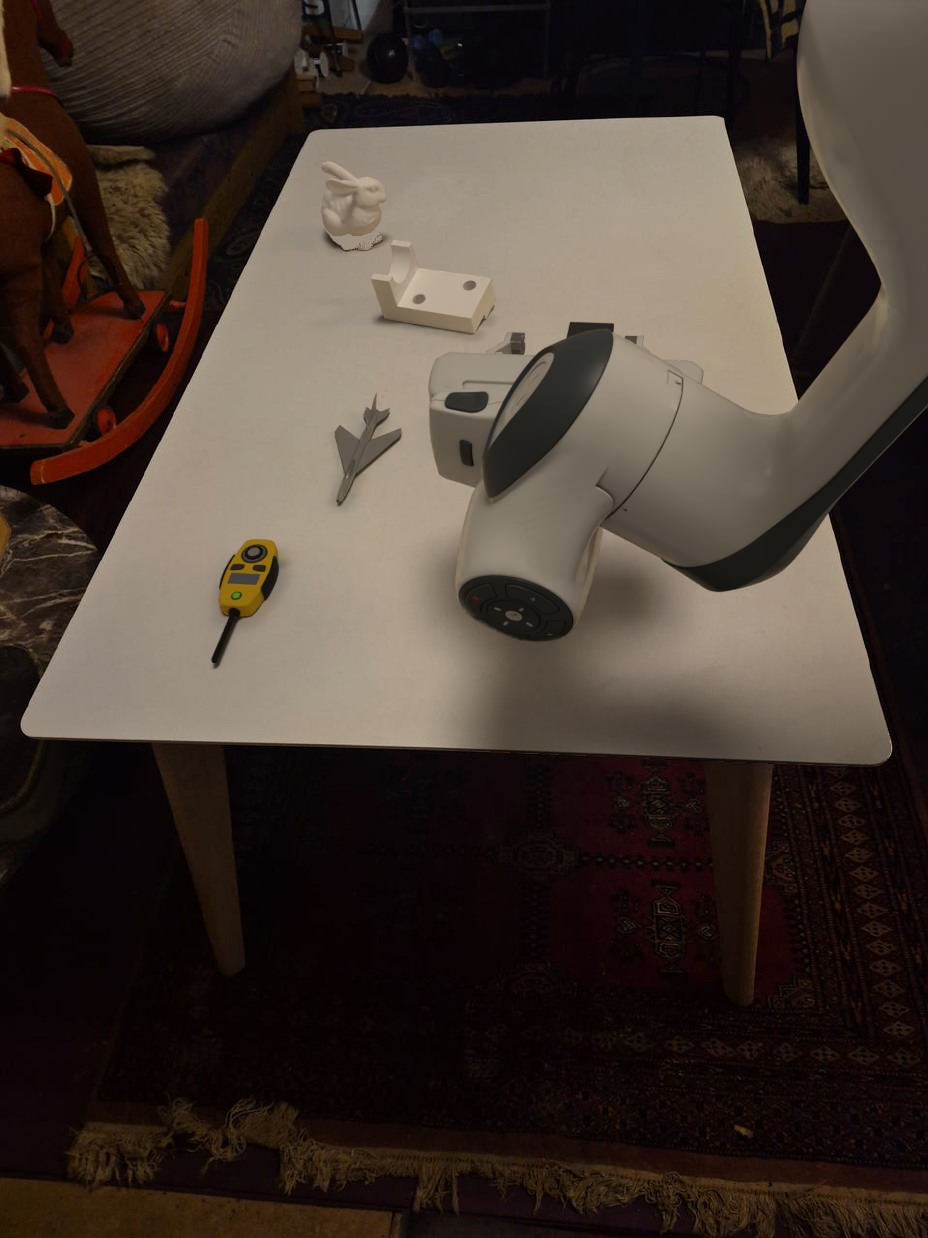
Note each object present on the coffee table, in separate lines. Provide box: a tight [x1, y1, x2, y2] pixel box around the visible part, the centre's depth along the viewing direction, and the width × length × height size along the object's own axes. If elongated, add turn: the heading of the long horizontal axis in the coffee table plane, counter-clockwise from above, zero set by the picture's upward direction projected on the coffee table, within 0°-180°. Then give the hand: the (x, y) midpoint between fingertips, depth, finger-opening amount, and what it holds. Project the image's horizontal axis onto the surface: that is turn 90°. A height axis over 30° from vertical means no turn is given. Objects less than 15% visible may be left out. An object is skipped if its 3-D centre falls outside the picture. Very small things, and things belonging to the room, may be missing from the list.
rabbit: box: [320, 160, 388, 252], centre depth 124 cm, size 12×9×12 cm
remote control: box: [210, 538, 280, 664], centre depth 79 cm, size 5×2×15 cm
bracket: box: [370, 239, 497, 335], centre depth 110 cm, size 13×7×8 cm, turn 66°
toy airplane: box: [334, 389, 402, 504], centre depth 94 cm, size 8×21×2 cm, turn 169°
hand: (574, 341), depth 69 cm, fingers open, 8 cm apart
